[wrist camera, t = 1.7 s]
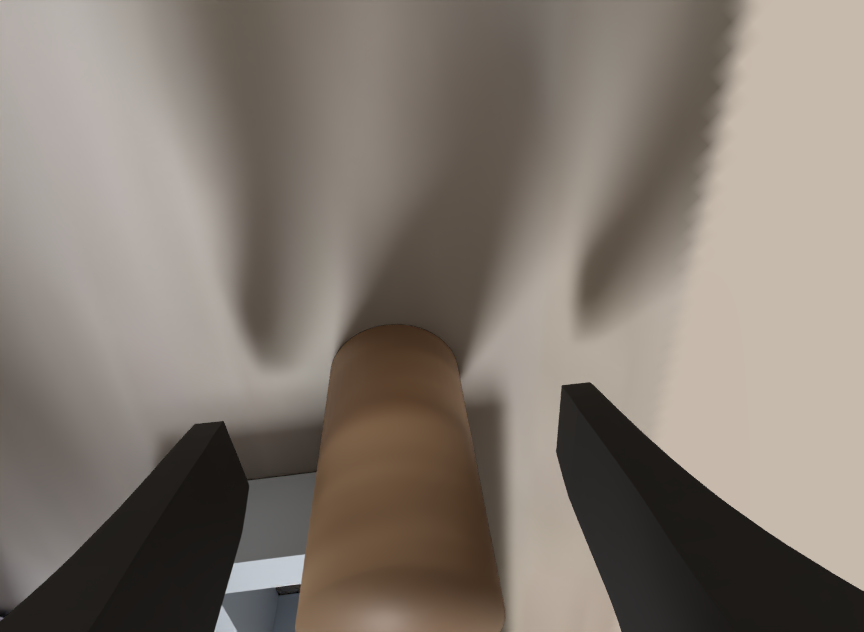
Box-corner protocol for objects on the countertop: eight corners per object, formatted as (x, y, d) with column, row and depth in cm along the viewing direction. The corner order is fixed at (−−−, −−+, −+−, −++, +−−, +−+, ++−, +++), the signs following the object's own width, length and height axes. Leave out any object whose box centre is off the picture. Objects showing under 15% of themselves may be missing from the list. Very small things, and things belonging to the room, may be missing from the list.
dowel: (303, 381, 13) (250, 638, 8) (392, 300, 12) (398, 535, 7) (397, 441, 14) (404, 694, 9) (484, 374, 13) (546, 615, 8)
